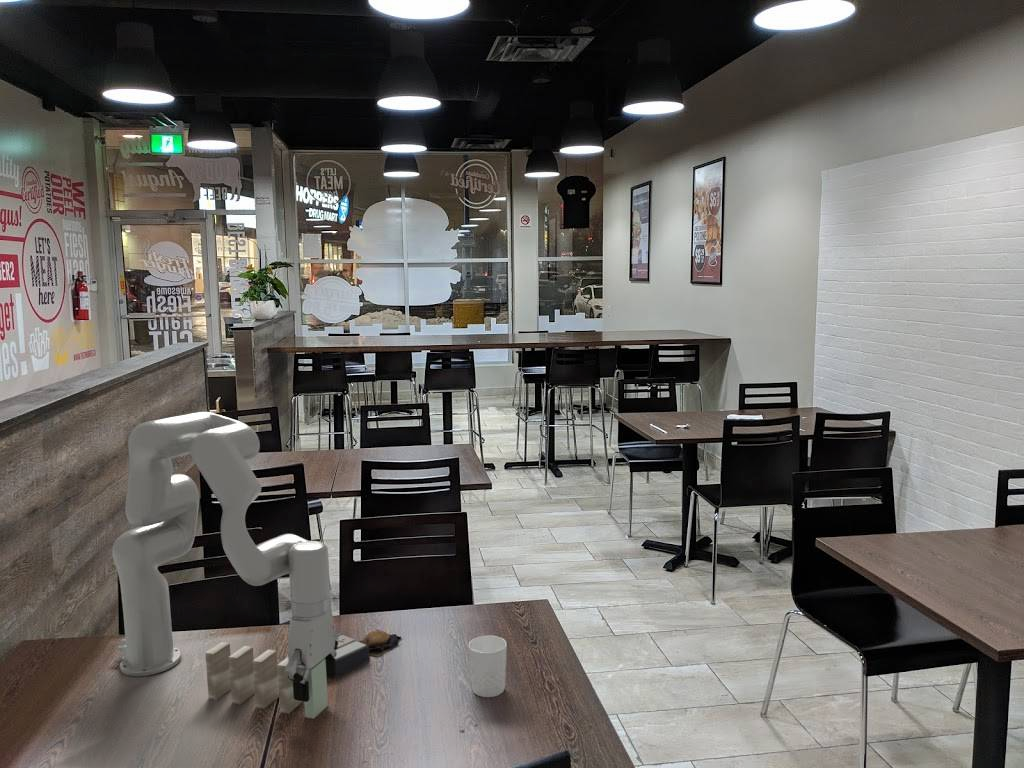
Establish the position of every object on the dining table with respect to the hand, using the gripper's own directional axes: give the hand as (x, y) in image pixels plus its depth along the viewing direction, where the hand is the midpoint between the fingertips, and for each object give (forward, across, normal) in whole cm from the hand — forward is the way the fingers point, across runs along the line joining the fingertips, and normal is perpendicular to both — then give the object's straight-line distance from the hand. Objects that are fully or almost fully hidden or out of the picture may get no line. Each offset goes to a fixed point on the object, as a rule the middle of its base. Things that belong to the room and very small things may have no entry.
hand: (315, 687), depth 154 cm
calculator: (+6, -20, -9) cm, 23 cm away
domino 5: (+5, 0, 0) cm, 5 cm away
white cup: (+5, -18, +30) cm, 35 cm away
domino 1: (+5, 0, -23) cm, 24 cm away
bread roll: (+6, -29, -2) cm, 30 cm away
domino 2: (+5, 0, -17) cm, 18 cm away
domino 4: (+5, 0, -6) cm, 8 cm away
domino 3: (+5, 0, -12) cm, 13 cm away
